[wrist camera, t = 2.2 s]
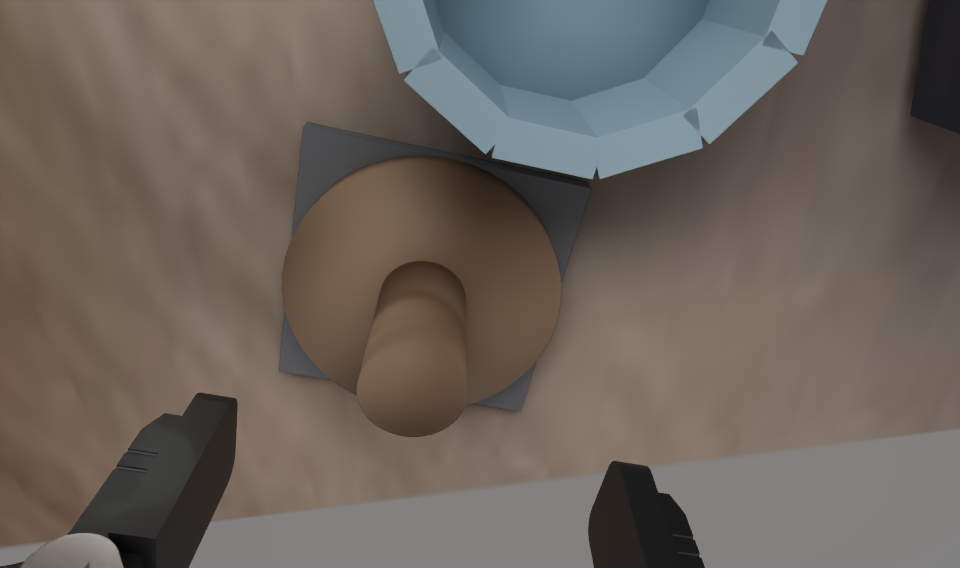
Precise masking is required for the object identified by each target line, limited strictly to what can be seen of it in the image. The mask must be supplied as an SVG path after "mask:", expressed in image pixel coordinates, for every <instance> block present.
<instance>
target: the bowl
mask: <svg viewBox="0 0 960 568" xmlns="http://www.w3.org/2000/svg"><path fill="white" fill-rule="evenodd" d="M373 1H374V4H375V7H376V10H377V13H378V15H379V18H380V21H381V24H382V27H383V30H384V32H385V35H386V38H387V41H388V44H389V46H390V49H391V52H392V55H393V58H394V60H395V63H396V66H397V69H398V72H399V74H400V73H403V72H406V71H408V72H407V75H406V77H405V79H404V81H405V82H406V83H407V84H408V85H409V86H410V87H411V88H413V89H414V90H415V91H416V92H417V93H418V94H419V95H420V96H421V97H423V98H424V99H425V100H426V101H427V102H428V103H429V104H430V105H431V106H432V107H434V108H435V109H436V110H437V111H438V112H439V113H440V114H441V115H442V116H444V117H445V118H446V119H447V120H448V121H449V122H450V123H451V124H452V125H453V126H455V127H456V128H457V129H458V130H459V131H460V132H461V133H462V134H463V135H465V136H466V137H467V138H468V139H469V140H470V141H471V142H472V143H473V144H474V145H476V146H477V147H478V148H479V149H480V150H481V151H482V152H483V153H484V154H486V153H487V152H488V151H489V150H490V149H491V154H492V158H495V159H500V160H505V161H509V162H514V163H518V164H523V165H528V166H532V167H537V168H542V169H546V170H551V171H556V172H560V173H565V174H570V175H574V176H579V177H583V178H588V179H593V177H594V174H595V172H596V174H597V175H598V177H599V179H602V178H605V177H609V176H612V175H615V174H619V173H622V172H625V171H629V170H632V169H635V168H639V167H642V166H645V165H649V164H652V163H655V162H659V161H662V160H665V159H669V158H672V157H675V156H679V155H682V154H685V153H689V152H692V151H695V150H699V149H702V148H703V146H702V140H701V138H702V139H703V140H705V141H706V142H707V143H708V144H711V143H712V142H713V141H714V140H715V139H716V138H717V137H718V136H719V135H720V134H721V133H723V132H724V131H725V130H726V129H727V128H728V127H729V126H730V125H731V124H732V123H733V122H734V121H736V120H737V119H738V118H739V117H740V116H741V115H742V114H743V113H744V112H745V111H746V110H748V109H749V108H750V107H751V106H752V105H753V104H754V103H755V102H756V101H757V100H758V99H759V98H761V97H762V96H763V95H764V94H765V93H766V92H767V91H768V90H769V89H770V88H771V87H773V86H774V85H775V84H776V83H777V82H778V81H779V80H780V79H781V78H782V77H783V76H785V75H786V74H787V73H788V72H789V71H790V70H791V69H792V68H793V67H794V66H795V65H796V64H798V62H797V61H796V60H795V58H794V57H793V56H792V55H791V53H795V54H799V55H804V53H805V51H806V48H807V46H808V44H809V42H810V39H811V37H812V35H813V32H814V30H815V28H816V25H817V23H818V21H819V18H820V16H821V14H822V11H823V9H824V7H825V5H826V2H827V0H373ZM790 52H791V53H790Z"/></svg>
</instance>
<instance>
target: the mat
mask: <svg viewBox="0 0 960 568" xmlns="http://www.w3.org/2000/svg"><path fill="white" fill-rule="evenodd" d="M413 155H416V156H437V157H443V158H450V159H454V160H458V161H461V162H465V163H468V164H471V165H474V166H476V167H478V168H481V169H483V170H485V171H488V172H489V173H491V174H493V175H494V176H496V177H498V178H499V179H501V180H503V181H504V182H505V183H507V184H508V185H509V186H511V187H512V188H513V189H514V190H516V191H517V192H518V193H519V194H520V195H521V196H522V197H523V198H524V199H525V200H526V201H527V202H528V203H529V204H530V206H531V207H532V208H533V210H534V211H535V212H536V214H537V215H538V217H539V218H540V219H541V221H542V223H543V225H544V227H545V229H546V231H547V233H548V235H549V238H550V240H551V243H552V246H553V249H554V252H555V255H556V259H557V262H558V267H559V272H560V277H561V282H562V279H563V276H564V272H565V269H566V266H567V263H568V260H569V257H570V254H571V251H572V247H573V244H574V241H575V238H576V235H577V232H578V229H579V225H580V222H581V219H582V216H583V213H584V210H585V207H586V203H587V200H588V197H589V194H590V191H591V187H590V185H589V184H588V182H583V181H579V180H574V179H569V178H565V177H560V176H555V175H551V174H546V173H541V172H537V171H532V170H527V169H523V168H518V167H513V166H509V165H504V164H499V163H495V162H490V161H485V160H481V159H476V158H472V157H467V156H462V155H458V154H453V153H448V152H444V151H439V150H434V149H430V148H425V147H420V146H416V145H411V144H406V143H402V142H397V141H392V140H388V139H383V138H378V137H374V136H369V135H364V134H360V133H355V132H350V131H346V130H341V129H336V128H332V127H327V126H322V125H318V124H313V123H308V122H307V123H306V125H305V126H304V127H303V134H302V144H301V154H300V164H299V174H298V184H297V194H296V204H295V214H294V223H293V233H292V238H293V236H294V234H295V232H296V230H297V228H298V226H299V225H300V223H301V221H302V220H303V218H304V216H305V215H306V213H307V212H308V211H309V209H310V208H311V206H312V205H313V204H314V202H315V201H316V200H317V199H318V198H319V197H320V196H321V195H322V194H323V193H324V192H325V191H326V190H327V189H328V188H329V187H330V186H332V185H333V184H334V183H336V182H337V181H338V180H340V179H341V178H342V177H344V176H346V175H348V174H350V173H351V172H353V171H355V170H357V169H359V168H361V167H364V166H367V165H369V164H372V163H374V162H378V161H382V160H386V159H390V158H394V157H403V156H413ZM535 364H536V362H535V363H534V364H533V366H532V367H531V368H530V369H529V370H528V371H527V372H526V373H525V374H524V375H523V376H521V377H520V378H519V379H518V380H516V381H515V382H514V383H512V384H511V385H510V386H508V387H507V388H505V389H503V390H502V391H500V392H498V393H497V394H495V395H493V396H490V397H488V398H486V399H484V400H482V401H479V402H476V403H473V404H478V405H484V406H490V407H496V408H502V409H508V410H514V411H521V408H522V404H523V401H524V398H525V395H526V392H527V389H528V386H529V382H530V379H531V376H532V373H533V370H534V367H535ZM279 371H281V372H287V373H293V374H299V375H305V376H310V377H316V378H322V379H328V380H332V379H330V378H329V377H328V376H326V375H325V374H324V373H323V372H322V371H321V370H320V369H319V368H318V367H317V366H316V365H315V364H314V363H313V362H312V361H311V359H310V358H309V357H308V356H307V355H306V353H305V352H304V351H303V349H302V348H301V346H300V344H299V343H298V341H297V339H296V338H295V336H294V334H293V331H292V329H291V327H290V324H289V322H288V319H287V315H286V312H285V313H284V322H283V332H282V342H281V352H280V362H279Z"/></svg>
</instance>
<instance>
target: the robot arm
mask: <svg viewBox="0 0 960 568" xmlns="http://www.w3.org/2000/svg"><path fill="white" fill-rule="evenodd" d="M236 427H237V400H236V398H230V397H224V396H218V395H212V394H206V393H198V394H196V395H195V397H194V398H193V400H192V401H191V403H190V405H189V406H188V408H187V409H186V411H185V412H184V414H183V416H179V415H172V414H166V413H165V414H163V415H162V416H160V417H159V418H157V419H156V420H154V421H153V422H151V423H150V424H149V425H147V426H146V427H144V428H143V429H142V430H141V431H140V433H139V434H138V435H137V437H136V438H135V440H134V441H133V443H132V444H131V445H130V447H129V448H128V452H127V453H125V454H124V455H123V457H122V458H121V460H120V461H119V463H118V464H117V467H116V469H114V470H113V471H112V473H111V474H110V475H109V477H108V478H107V480H106V481H105V483H104V484H103V485H102V487H101V488H100V490H99V491H98V493H97V494H96V495H95V497H94V498H93V500H92V501H91V502H90V504H89V505H88V507H87V508H86V510H85V511H84V512H83V514H82V515H81V517H80V518H79V520H78V521H77V522H76V524H75V525H74V527H73V528H72V530H71V531H70V532H69V533H68V534H67V536H63V537H60V538H57V539H54V540H52V541H50V542H48V543H46V544H44V545H43V546H41V547H40V548H38V549H37V550H36V551H34V552H33V553H32V554H31V555H30V556H29V557H28V558H27V559H26V560H25V561H23V562H20V563H17V564H13V565H7V566H1V567H0V568H189V565H190V563H191V561H192V559H193V557H194V555H195V553H196V550H197V548H198V546H199V544H200V542H201V540H202V538H203V536H204V533H205V531H206V529H207V527H208V525H209V523H210V521H211V519H212V516H213V514H214V512H215V510H216V508H217V506H218V504H219V501H220V499H221V497H222V495H223V493H224V491H225V489H226V487H227V484H228V482H229V479H230V476H231V473H232V469H233V465H234V460H235V449H236ZM588 534H589V542H590V548H591V554H592V559H593V564H594V568H705V567H704V564H703V561H702V559H701V558H700V557H699V554H700V553H699V550H698V548H697V545H696V542H695V540H693V534H692V531H691V529H690V526H689V523H688V520H687V518H686V515H685V513H684V512H683V511H682V510H681V508H680V507H679V506H678V505H677V503H676V502H675V501H674V500H673V498H672V497H671V496H670V495H669V494H664V493H658V491H657V488H656V485H655V482H654V479H653V476H652V473H651V470H650V469H649V468H648V467H647V466H643V465H637V464H631V463H625V462H618V461H613V462H612V463H611V464H610V465H609V468H608V470H607V472H606V475H605V477H604V480H603V483H602V485H601V488H600V490H599V492H598V495H597V498H596V500H595V503H594V505H593V507H592V510H591V513H590V518H589V527H588Z"/></svg>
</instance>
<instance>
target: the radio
mask: <svg viewBox="0 0 960 568" xmlns="http://www.w3.org/2000/svg"><path fill="white" fill-rule="evenodd" d="M910 116H913V117H916V118H918V119H921V120H924V121H927V122H929V123H932V124H935V125H938V126H940V127H943V128H946V129H949V130H951V131H954V132H957V133H960V0H930V3H929V9H928V15H927V20H926V26H925V32H924V38H923V44H922V50H921V56H920V62H919V68H918V73H917V79H916V85H915V91H914V97H913V103H912V109H911V115H910Z"/></svg>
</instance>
